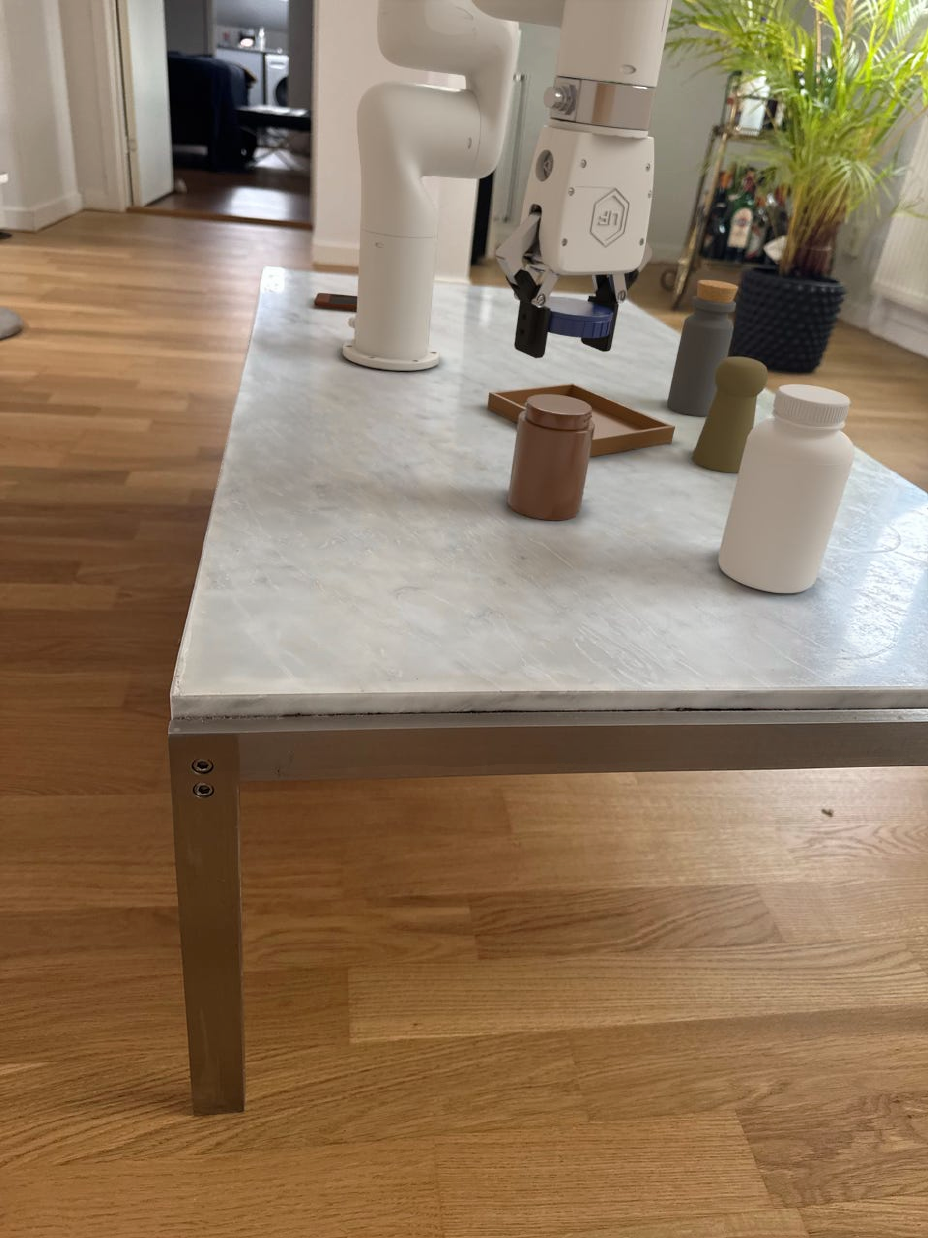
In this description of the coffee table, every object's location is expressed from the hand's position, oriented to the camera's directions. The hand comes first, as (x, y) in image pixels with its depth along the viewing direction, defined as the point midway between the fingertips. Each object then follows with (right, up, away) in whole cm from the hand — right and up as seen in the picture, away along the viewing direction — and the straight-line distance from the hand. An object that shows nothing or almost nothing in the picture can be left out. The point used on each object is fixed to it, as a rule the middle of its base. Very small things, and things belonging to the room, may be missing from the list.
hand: (562, 348), depth 79 cm
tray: (+5, -1, +28) cm, 28 cm away
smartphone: (-24, +26, +69) cm, 78 cm away
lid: (+1, +3, -2) cm, 3 cm away
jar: (-1, -12, +6) cm, 14 cm away
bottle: (+20, +3, +38) cm, 43 cm away
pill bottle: (+16, -19, -2) cm, 25 cm away
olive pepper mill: (+19, -6, +22) cm, 29 cm away
